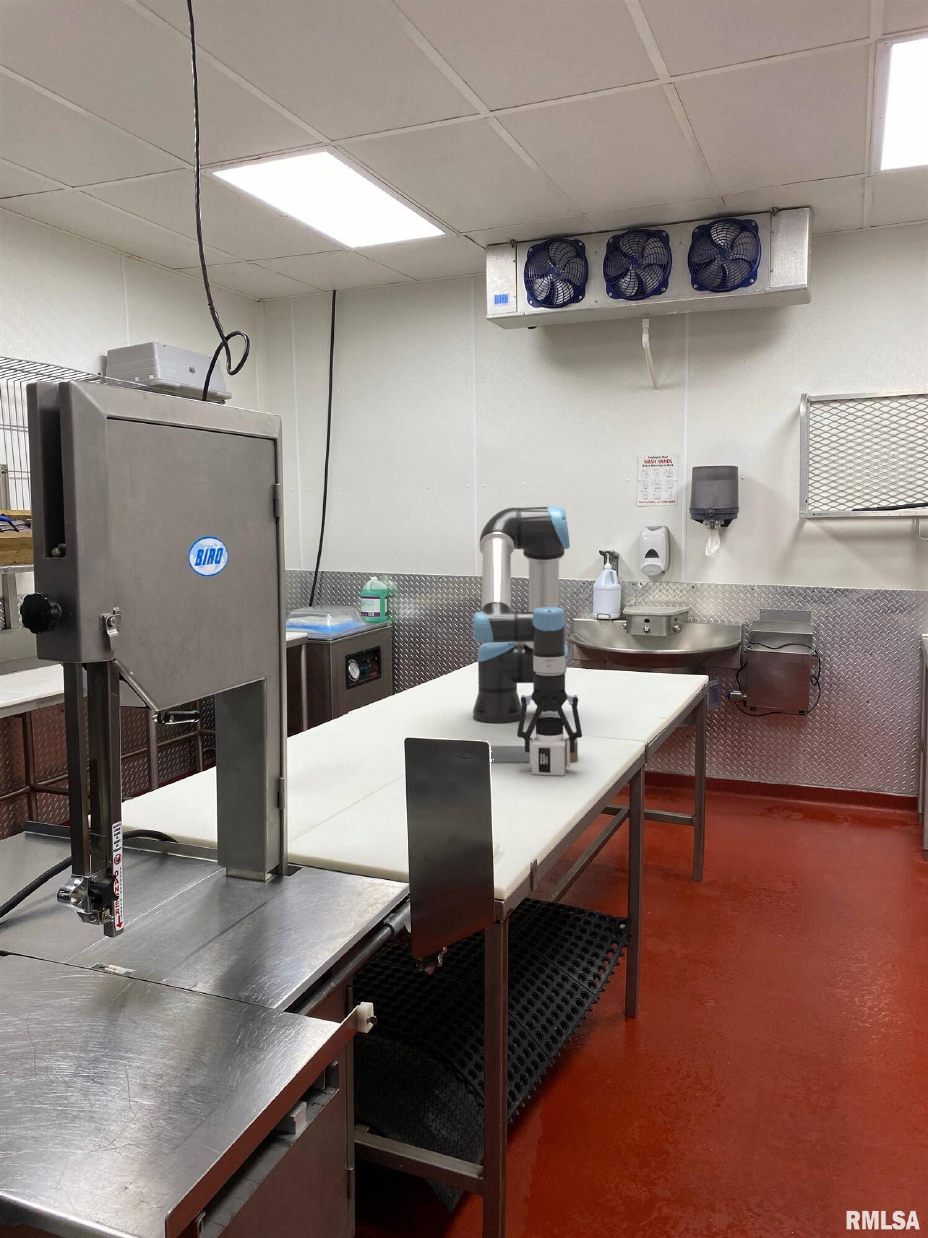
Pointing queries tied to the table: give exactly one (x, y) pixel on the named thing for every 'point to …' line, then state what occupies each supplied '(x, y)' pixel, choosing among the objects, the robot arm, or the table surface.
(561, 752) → the container
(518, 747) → the rubber mat
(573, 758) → the letter cube
